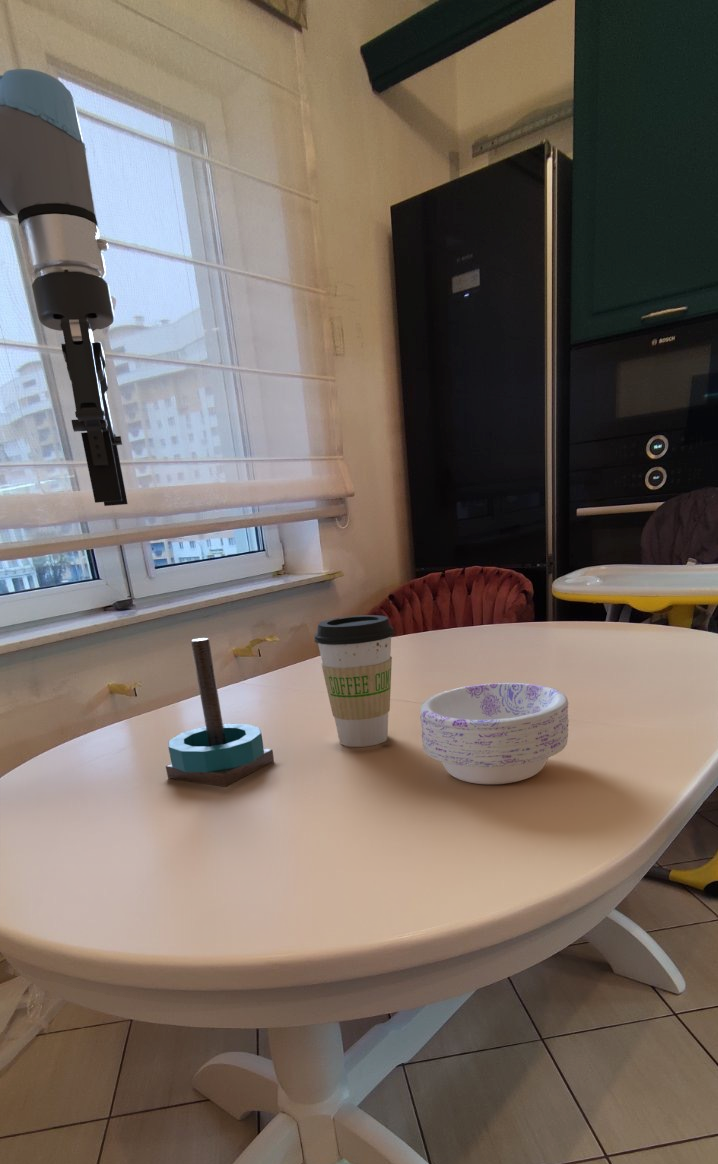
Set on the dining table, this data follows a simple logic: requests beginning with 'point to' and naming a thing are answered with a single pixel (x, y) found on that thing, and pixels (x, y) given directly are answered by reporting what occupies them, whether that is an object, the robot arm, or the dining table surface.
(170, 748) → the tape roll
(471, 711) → the paper bowls
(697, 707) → the dining table surface
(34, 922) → the dining table surface
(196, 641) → the peg stand
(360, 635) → the coffee cup
